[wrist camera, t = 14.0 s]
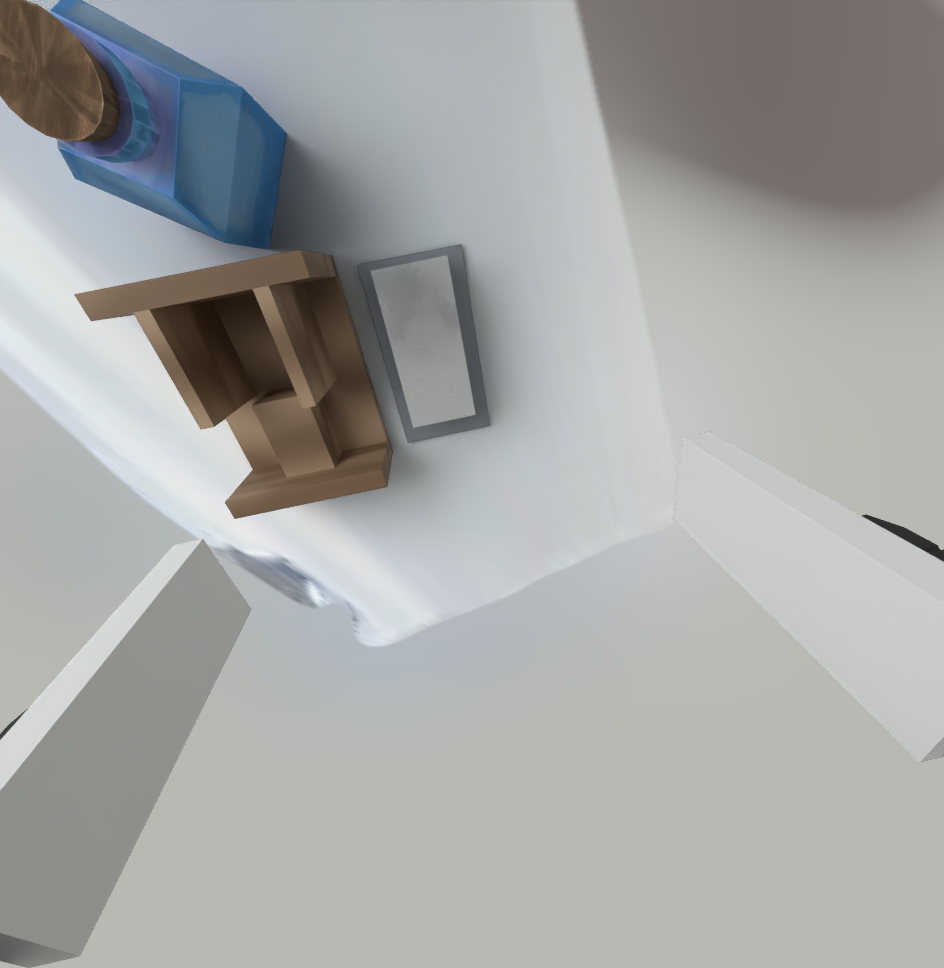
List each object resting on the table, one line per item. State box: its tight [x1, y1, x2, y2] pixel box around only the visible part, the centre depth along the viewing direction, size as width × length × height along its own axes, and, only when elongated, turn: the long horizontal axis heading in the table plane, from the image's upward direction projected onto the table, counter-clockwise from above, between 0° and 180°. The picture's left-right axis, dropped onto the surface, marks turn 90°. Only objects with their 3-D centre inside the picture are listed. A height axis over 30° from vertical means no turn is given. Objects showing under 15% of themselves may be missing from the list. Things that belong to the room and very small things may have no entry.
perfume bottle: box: [0, 0, 287, 250], centre depth 17 cm, size 6×6×12 cm
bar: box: [371, 255, 476, 428], centre depth 26 cm, size 10×5×4 cm, turn 10°
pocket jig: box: [74, 250, 393, 519], centre depth 25 cm, size 14×11×8 cm
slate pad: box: [357, 244, 490, 443], centre depth 28 cm, size 13×7×1 cm, turn 10°
